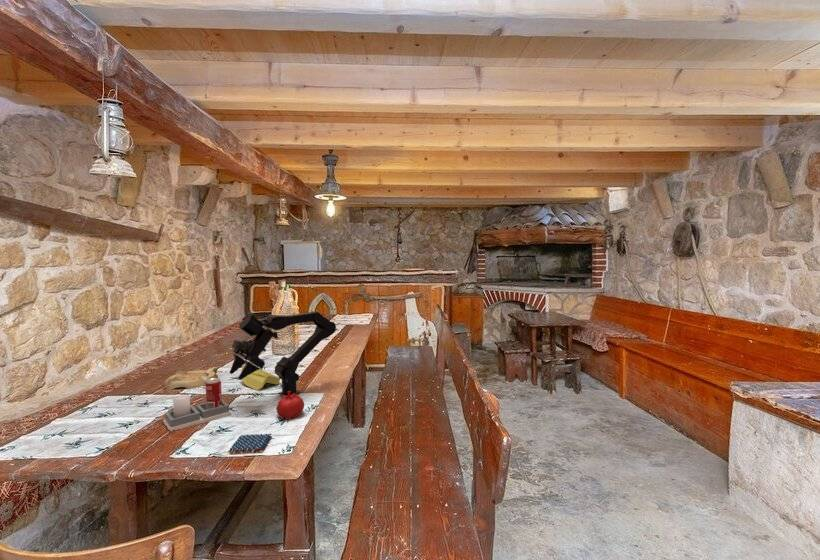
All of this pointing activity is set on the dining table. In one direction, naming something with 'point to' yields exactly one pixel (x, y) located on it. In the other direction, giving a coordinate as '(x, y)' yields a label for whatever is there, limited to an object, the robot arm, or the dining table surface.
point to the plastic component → (259, 379)
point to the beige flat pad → (190, 378)
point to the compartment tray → (192, 413)
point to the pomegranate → (290, 406)
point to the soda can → (213, 393)
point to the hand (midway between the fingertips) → (234, 376)
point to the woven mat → (250, 443)
